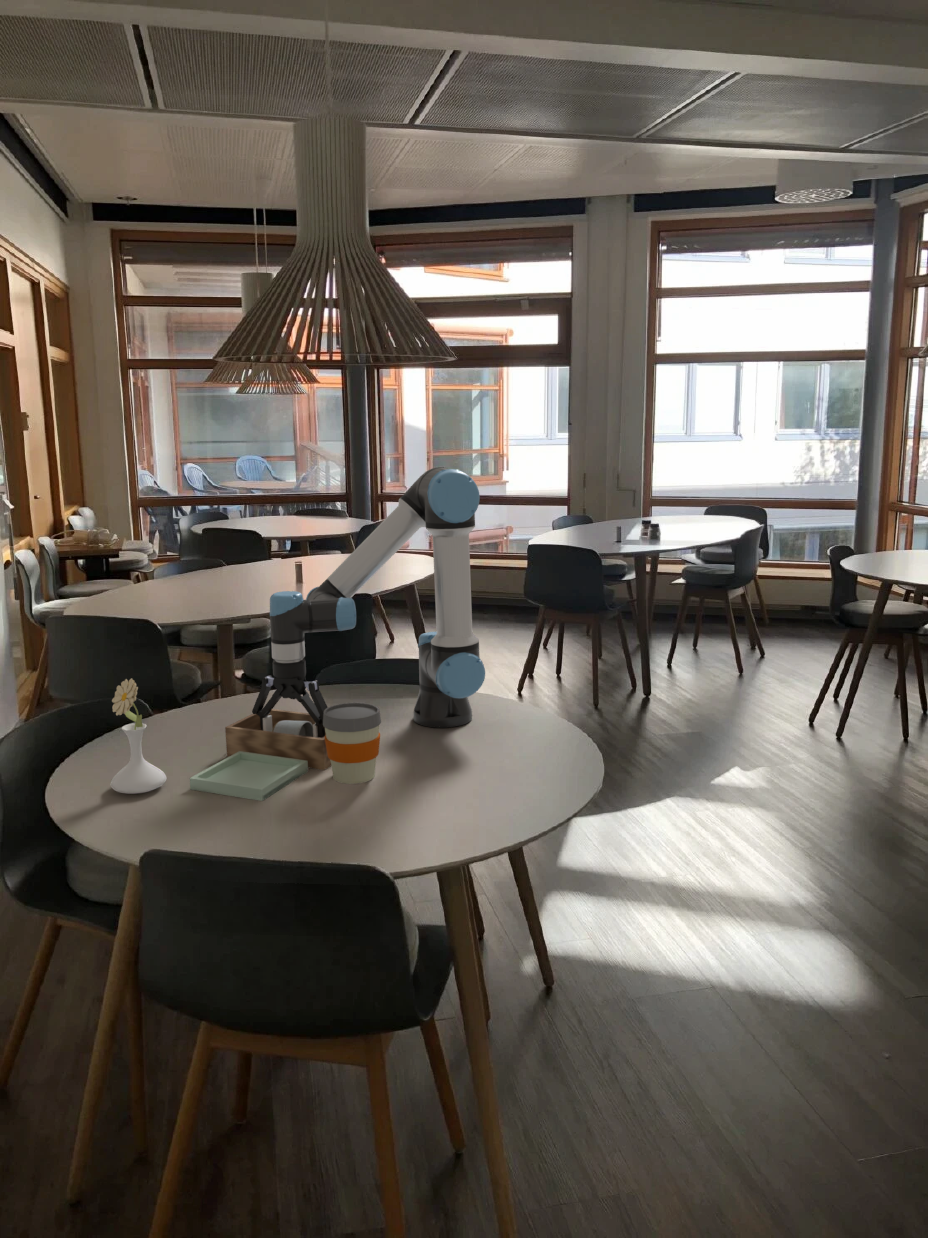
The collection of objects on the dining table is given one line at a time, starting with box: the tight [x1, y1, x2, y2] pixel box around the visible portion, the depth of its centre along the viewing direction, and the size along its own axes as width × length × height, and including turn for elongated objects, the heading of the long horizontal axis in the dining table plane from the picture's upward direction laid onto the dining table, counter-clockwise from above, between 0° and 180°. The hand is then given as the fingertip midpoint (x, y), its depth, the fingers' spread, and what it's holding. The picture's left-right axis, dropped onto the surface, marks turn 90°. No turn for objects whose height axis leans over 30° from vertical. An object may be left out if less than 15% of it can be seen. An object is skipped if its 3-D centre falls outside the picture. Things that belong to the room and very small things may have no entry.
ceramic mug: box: [272, 720, 313, 737], centre depth 228 cm, size 11×8×8 cm
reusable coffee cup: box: [323, 702, 382, 785], centre depth 213 cm, size 13×13×15 cm
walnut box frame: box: [224, 708, 332, 771], centre depth 229 cm, size 26×16×7 cm, turn 68°
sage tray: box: [189, 751, 309, 802], centre depth 212 cm, size 18×18×2 cm
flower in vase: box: [110, 678, 168, 795], centre depth 205 cm, size 13×11×25 cm
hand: (293, 746), depth 230 cm, fingers open, 13 cm apart
